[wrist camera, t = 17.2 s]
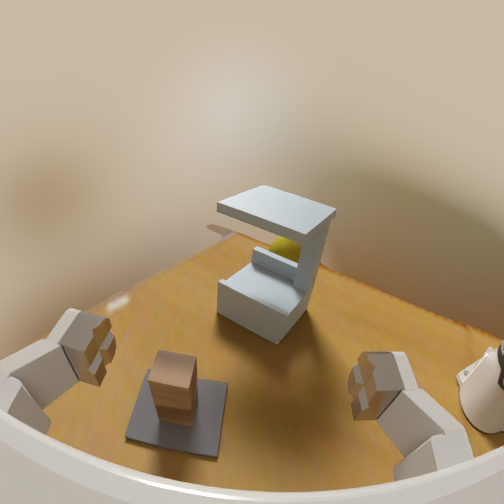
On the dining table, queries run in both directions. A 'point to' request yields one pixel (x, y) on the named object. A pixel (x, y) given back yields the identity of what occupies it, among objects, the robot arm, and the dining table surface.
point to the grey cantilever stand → (274, 261)
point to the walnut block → (174, 387)
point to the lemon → (286, 249)
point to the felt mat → (179, 436)
